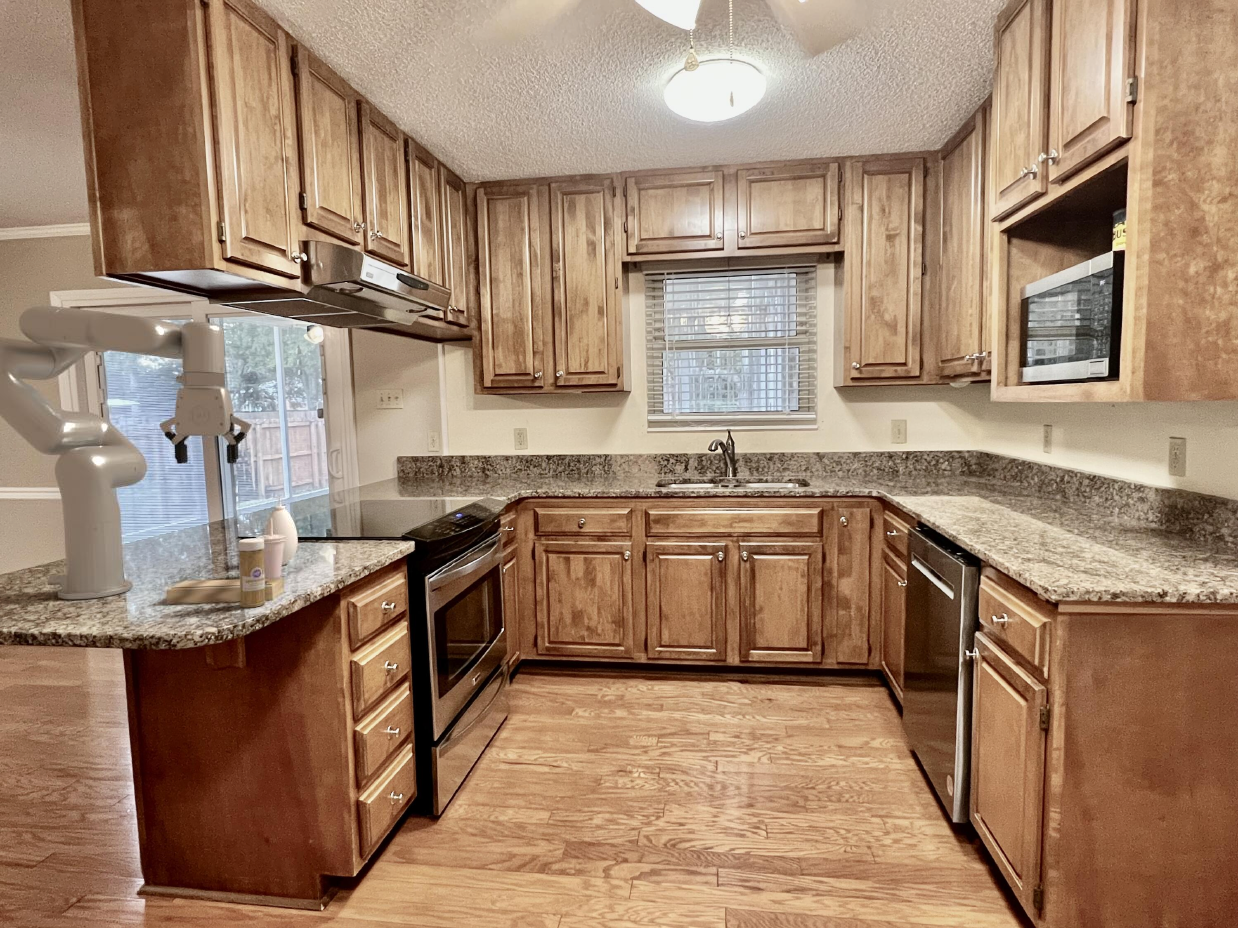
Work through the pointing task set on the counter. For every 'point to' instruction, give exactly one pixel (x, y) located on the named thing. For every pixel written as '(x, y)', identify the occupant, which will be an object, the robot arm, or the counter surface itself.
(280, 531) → the sauce bottle
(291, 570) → the counter surface
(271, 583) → the maple board
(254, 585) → the sprinkles bottle
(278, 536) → the smoothie
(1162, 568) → the counter surface
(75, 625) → the counter surface
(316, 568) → the counter surface
